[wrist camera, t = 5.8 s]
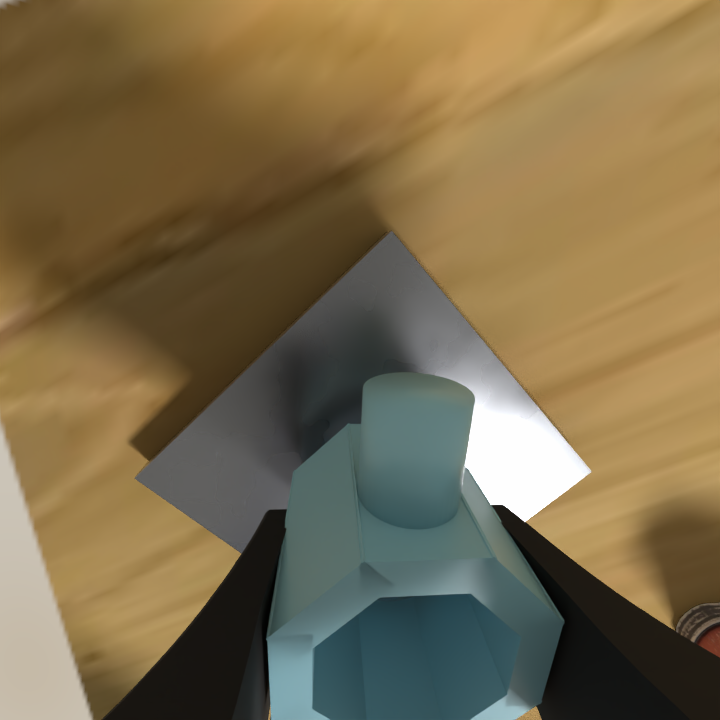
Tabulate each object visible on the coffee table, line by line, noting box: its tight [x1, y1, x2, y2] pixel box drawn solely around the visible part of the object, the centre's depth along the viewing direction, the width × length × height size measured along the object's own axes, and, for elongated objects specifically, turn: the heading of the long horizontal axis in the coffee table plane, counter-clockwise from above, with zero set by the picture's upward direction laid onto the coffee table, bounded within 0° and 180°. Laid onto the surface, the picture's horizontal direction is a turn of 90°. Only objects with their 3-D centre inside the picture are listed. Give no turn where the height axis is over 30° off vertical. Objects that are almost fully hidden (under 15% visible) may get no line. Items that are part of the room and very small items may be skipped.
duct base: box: [135, 231, 591, 601], centre depth 12 cm, size 12×12×5 cm
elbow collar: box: [266, 372, 565, 720], centre depth 9 cm, size 8×6×5 cm
